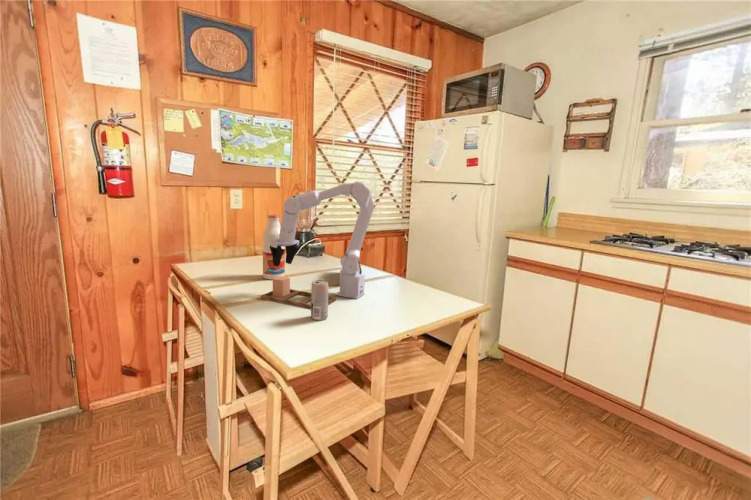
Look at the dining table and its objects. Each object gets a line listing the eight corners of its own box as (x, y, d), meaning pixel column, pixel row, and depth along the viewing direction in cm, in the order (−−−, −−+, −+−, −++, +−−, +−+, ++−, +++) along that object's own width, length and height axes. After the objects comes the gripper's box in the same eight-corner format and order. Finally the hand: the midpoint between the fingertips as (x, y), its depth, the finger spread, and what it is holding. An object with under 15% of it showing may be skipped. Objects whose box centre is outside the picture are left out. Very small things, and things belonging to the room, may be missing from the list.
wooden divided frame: (336, 300, 136) (336, 297, 136) (319, 310, 125) (319, 306, 125) (281, 290, 145) (281, 287, 145) (261, 298, 134) (261, 295, 134)
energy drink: (319, 313, 122) (320, 279, 120) (331, 317, 119) (332, 282, 117) (307, 317, 118) (308, 282, 116) (318, 322, 115) (319, 285, 113)
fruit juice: (277, 273, 170) (277, 213, 165) (288, 277, 164) (289, 215, 159) (258, 276, 163) (258, 214, 158) (270, 281, 157) (269, 216, 152)
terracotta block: (289, 295, 140) (289, 277, 138) (282, 298, 135) (282, 280, 134) (280, 293, 141) (280, 276, 140) (272, 296, 137) (272, 278, 136)
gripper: (290, 226, 144) (285, 260, 146) (266, 227, 130) (261, 263, 132) (305, 230, 141) (299, 264, 143) (282, 231, 128) (276, 268, 130)
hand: (282, 264), depth 138 cm, fingers open, 7 cm apart
